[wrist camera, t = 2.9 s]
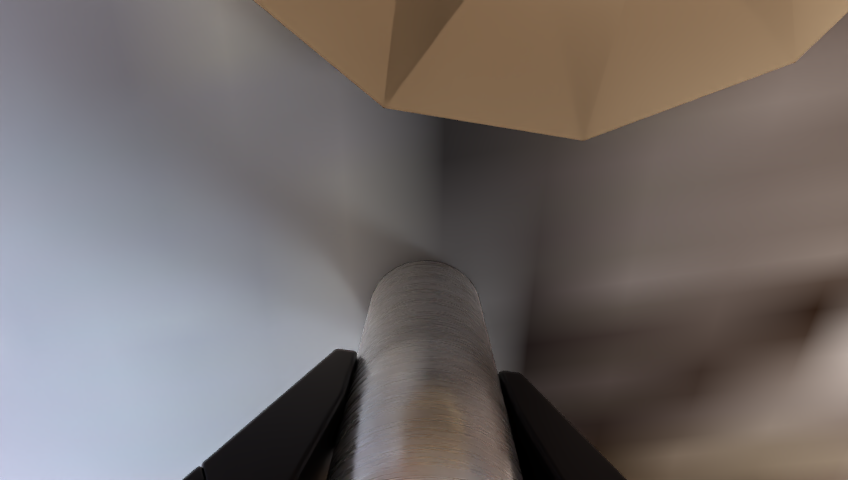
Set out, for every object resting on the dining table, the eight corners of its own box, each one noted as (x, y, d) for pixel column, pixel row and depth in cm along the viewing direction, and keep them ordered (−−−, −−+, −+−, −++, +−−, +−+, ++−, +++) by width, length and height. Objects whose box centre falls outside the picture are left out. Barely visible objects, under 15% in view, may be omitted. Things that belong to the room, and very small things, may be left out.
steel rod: (469, 363, 11) (600, 1237, 3) (364, 349, 11) (164, 1229, 3) (491, 269, 10) (805, 1194, 2) (376, 252, 10) (116, 1177, 2)
